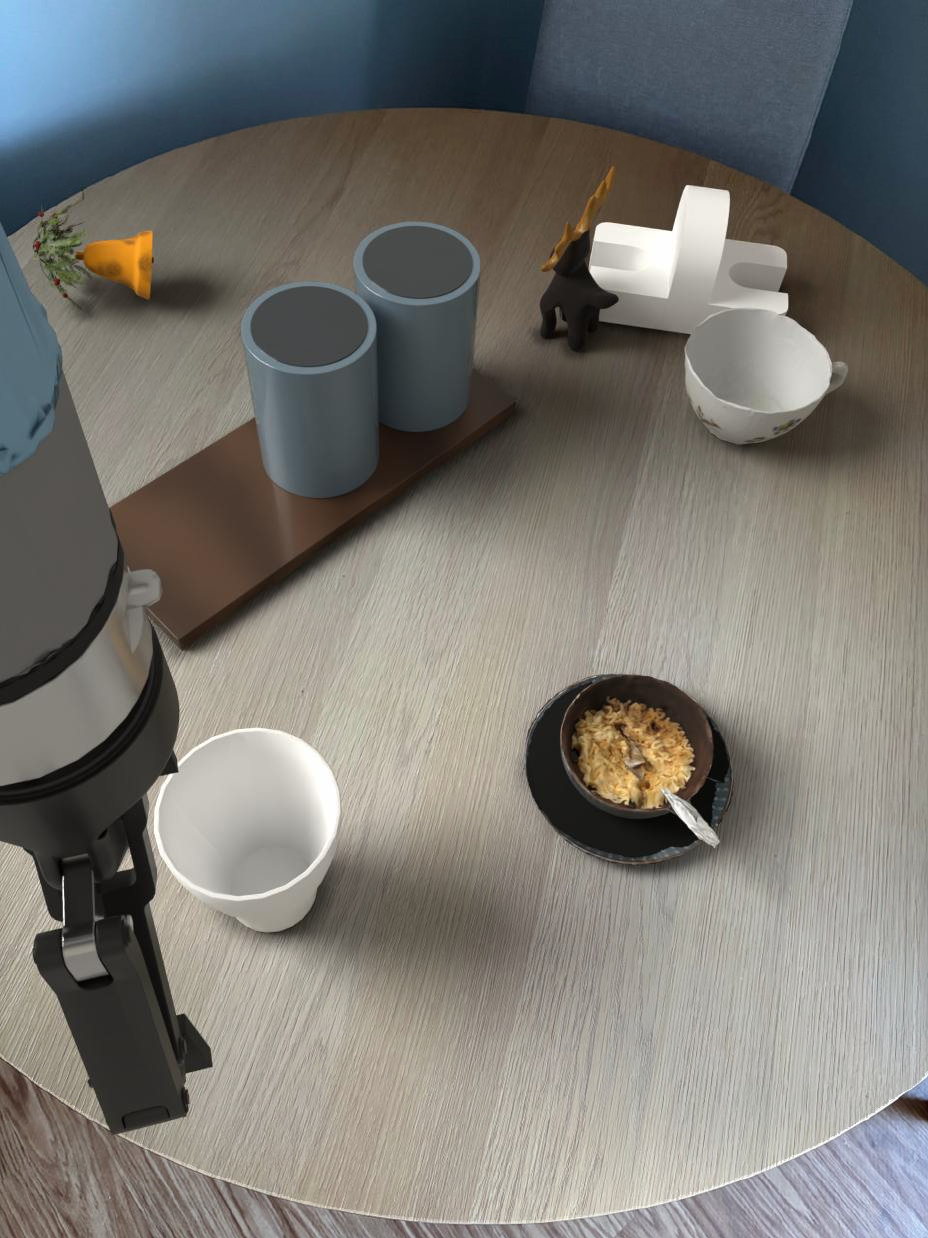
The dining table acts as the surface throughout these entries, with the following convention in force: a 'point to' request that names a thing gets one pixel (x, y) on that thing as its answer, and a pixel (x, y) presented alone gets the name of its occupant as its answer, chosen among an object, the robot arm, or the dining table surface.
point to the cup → (251, 825)
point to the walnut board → (266, 515)
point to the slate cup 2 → (421, 320)
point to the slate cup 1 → (314, 387)
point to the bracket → (685, 268)
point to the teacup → (756, 374)
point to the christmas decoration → (96, 257)
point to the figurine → (576, 279)
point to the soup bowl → (629, 769)
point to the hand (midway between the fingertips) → (163, 907)
